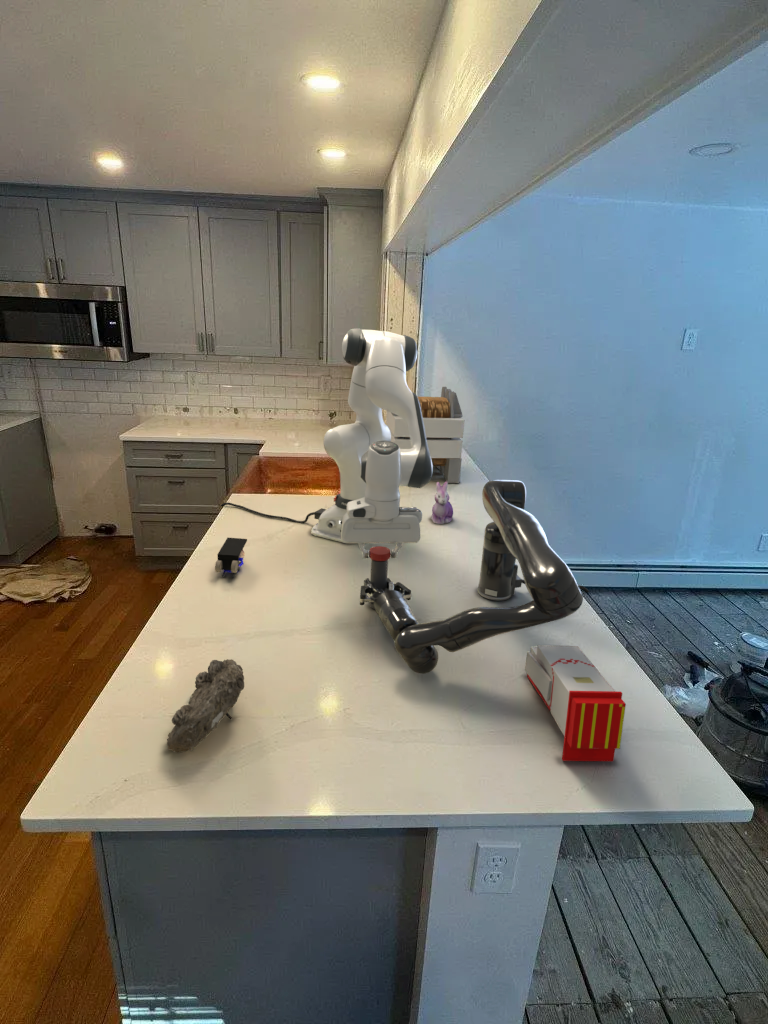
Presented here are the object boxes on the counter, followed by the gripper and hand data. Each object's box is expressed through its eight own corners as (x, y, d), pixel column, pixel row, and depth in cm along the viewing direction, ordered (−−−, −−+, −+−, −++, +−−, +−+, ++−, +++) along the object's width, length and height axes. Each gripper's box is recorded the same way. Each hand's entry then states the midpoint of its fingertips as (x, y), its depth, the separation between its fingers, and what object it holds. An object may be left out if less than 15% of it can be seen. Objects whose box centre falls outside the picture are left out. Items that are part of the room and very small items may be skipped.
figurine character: (238, 584, 162) (249, 557, 175) (236, 562, 158) (247, 536, 172) (215, 584, 161) (227, 556, 175) (212, 561, 158) (225, 535, 171)
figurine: (438, 526, 208) (441, 487, 203) (424, 517, 217) (426, 479, 211) (459, 522, 212) (463, 484, 207) (444, 514, 221) (447, 477, 216)
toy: (573, 628, 126) (635, 699, 97) (567, 683, 129) (626, 769, 99) (519, 627, 125) (565, 698, 96) (514, 682, 128) (557, 768, 99)
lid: (393, 559, 145) (394, 553, 144) (373, 562, 143) (373, 555, 142) (385, 551, 150) (385, 545, 149) (366, 553, 148) (366, 547, 147)
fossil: (192, 660, 117) (244, 628, 112) (224, 691, 120) (276, 661, 115) (142, 746, 98) (202, 712, 93) (182, 779, 101) (242, 748, 96)
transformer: (382, 463, 289) (386, 382, 275) (445, 464, 293) (451, 384, 279) (390, 482, 257) (394, 392, 243) (460, 483, 261) (468, 394, 247)
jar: (375, 611, 148) (378, 557, 143) (366, 604, 152) (368, 551, 146) (388, 606, 151) (391, 554, 146) (379, 600, 154) (381, 548, 149)
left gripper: (420, 503, 146) (417, 552, 151) (341, 502, 143) (340, 552, 148) (425, 511, 140) (421, 562, 145) (342, 511, 138) (341, 563, 142)
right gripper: (365, 628, 136) (349, 595, 151) (421, 622, 140) (400, 590, 155) (366, 601, 133) (350, 569, 148) (423, 595, 137) (401, 565, 152)
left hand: (379, 557), depth 146 cm, fingers open, 6 cm apart
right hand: (375, 580), depth 152 cm, fingers closed on jar, 4 cm apart
